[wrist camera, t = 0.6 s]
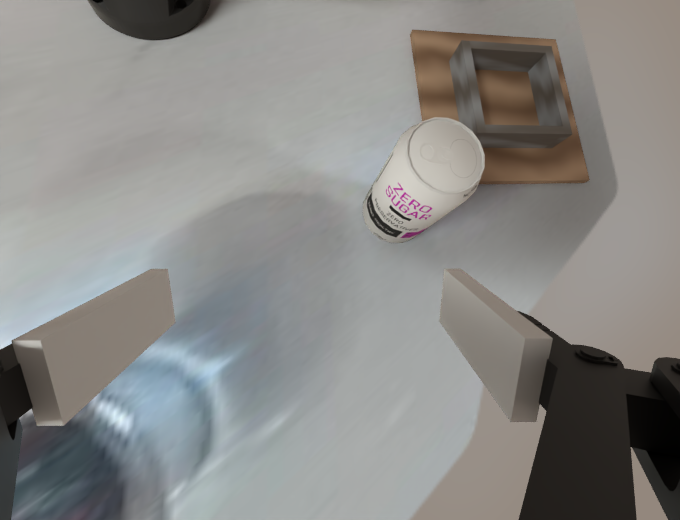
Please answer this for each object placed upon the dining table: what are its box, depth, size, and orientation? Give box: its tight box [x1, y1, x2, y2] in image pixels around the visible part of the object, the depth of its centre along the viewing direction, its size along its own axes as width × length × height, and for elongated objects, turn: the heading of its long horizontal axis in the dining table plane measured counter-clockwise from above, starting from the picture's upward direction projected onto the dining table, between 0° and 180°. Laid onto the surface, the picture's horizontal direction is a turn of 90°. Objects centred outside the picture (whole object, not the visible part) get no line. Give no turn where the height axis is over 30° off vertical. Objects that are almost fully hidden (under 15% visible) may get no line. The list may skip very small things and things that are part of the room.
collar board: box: [410, 30, 589, 184], centre depth 45 cm, size 24×24×5 cm
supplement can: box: [362, 117, 485, 243], centre depth 34 cm, size 8×8×15 cm
